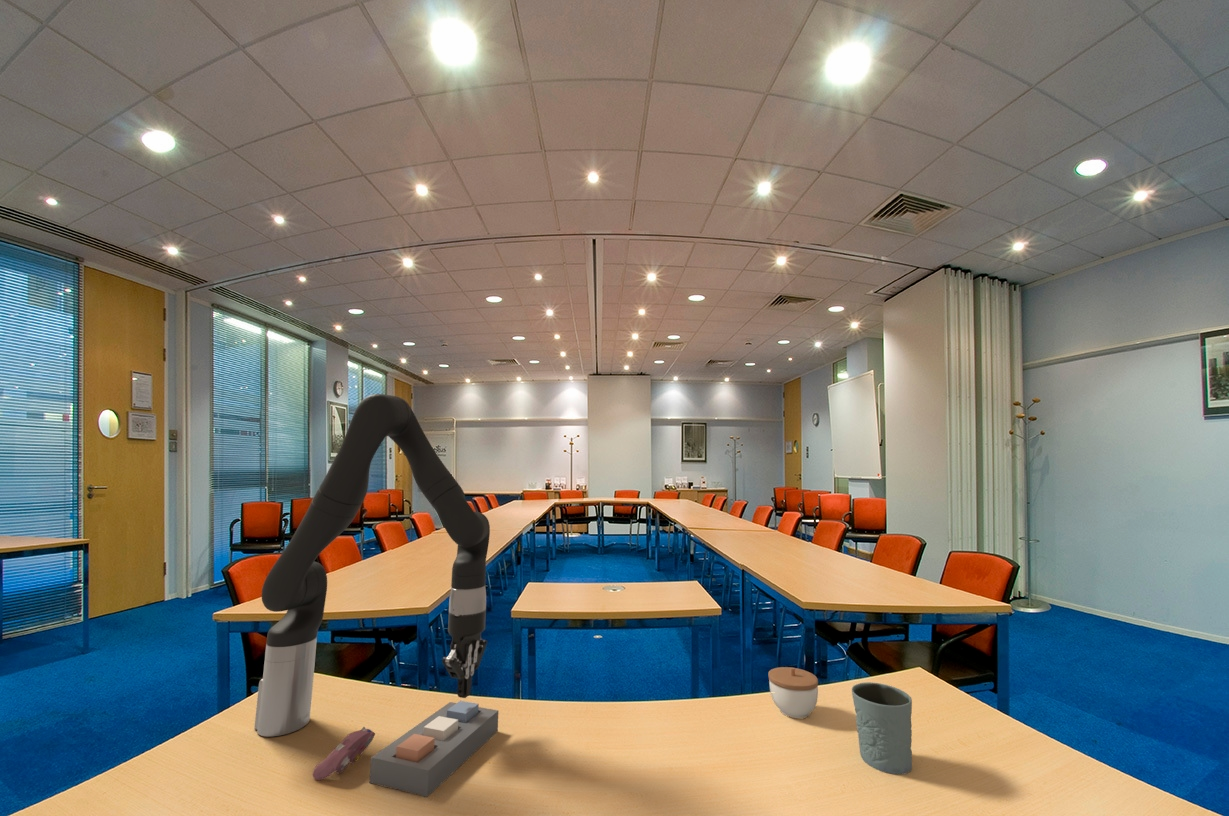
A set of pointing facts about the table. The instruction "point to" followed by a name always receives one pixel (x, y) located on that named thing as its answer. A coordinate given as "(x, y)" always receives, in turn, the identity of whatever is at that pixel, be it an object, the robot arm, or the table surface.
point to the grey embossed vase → (884, 726)
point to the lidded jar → (793, 691)
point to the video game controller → (344, 753)
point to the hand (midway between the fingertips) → (464, 696)
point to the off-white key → (441, 728)
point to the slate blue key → (463, 711)
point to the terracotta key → (415, 748)
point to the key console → (433, 754)
